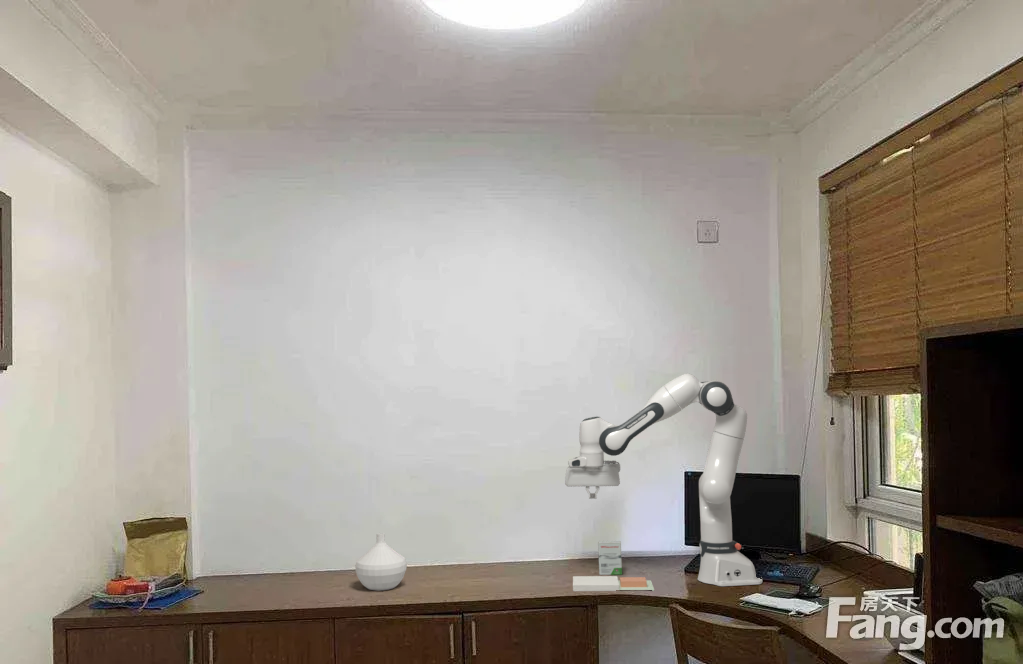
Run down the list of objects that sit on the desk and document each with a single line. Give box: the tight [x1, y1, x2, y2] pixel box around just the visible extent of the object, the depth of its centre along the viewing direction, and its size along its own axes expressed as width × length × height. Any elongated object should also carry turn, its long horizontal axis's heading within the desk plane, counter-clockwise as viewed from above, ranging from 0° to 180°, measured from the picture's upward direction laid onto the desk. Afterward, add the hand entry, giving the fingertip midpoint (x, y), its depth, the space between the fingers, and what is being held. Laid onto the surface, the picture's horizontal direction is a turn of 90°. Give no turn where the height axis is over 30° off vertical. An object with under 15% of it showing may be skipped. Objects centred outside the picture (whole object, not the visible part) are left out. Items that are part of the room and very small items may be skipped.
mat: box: [618, 579, 655, 592], centre depth 306 cm, size 12×13×1 cm
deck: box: [572, 575, 619, 592], centre depth 307 cm, size 16×13×2 cm
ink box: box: [597, 540, 623, 576], centre depth 326 cm, size 9×5×12 cm, turn 84°
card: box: [619, 576, 647, 587], centre depth 306 cm, size 9×6×2 cm, turn 86°
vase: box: [354, 532, 408, 591], centre depth 313 cm, size 18×18×19 cm
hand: (592, 498), depth 320 cm, fingers closed
